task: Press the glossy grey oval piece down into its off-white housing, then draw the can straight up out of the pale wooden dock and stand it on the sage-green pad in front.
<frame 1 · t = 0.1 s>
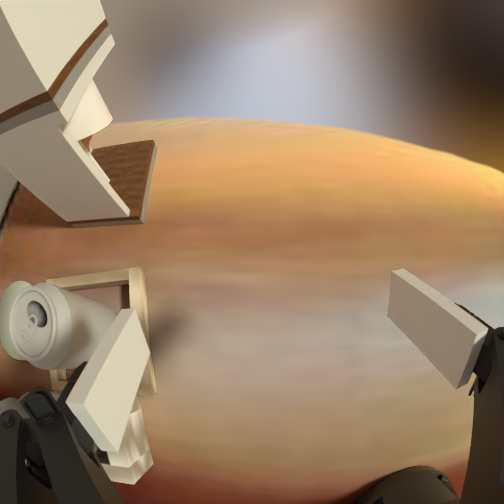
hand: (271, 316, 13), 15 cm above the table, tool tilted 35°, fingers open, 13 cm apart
tall seamed white tower: (115, 187, 34), on the table
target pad: (20, 320, 27), on the table
glossy grey oval piece: (81, 440, 18), point 7 cm above the table, slide at 0.0 cm
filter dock: (97, 334, 27), on the table
ceramic mug: (41, 423, 23), on the table
can: (98, 334, 27), resting in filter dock
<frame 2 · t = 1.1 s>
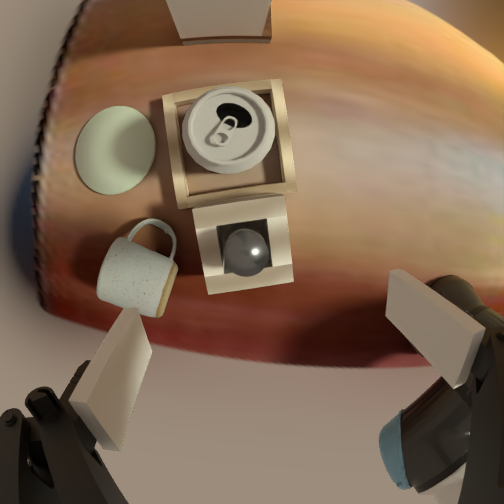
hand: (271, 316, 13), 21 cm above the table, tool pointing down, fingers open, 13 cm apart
tall seamed white tower: (227, 10, 25), on the table
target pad: (114, 150, 29), on the table
glossy grey oval piece: (245, 248, 27), point 6 cm above the table, slide at 0.0 cm
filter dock: (229, 142, 31), on the table
ceramic mug: (148, 258, 34), on the table
can: (229, 142, 31), resting in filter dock
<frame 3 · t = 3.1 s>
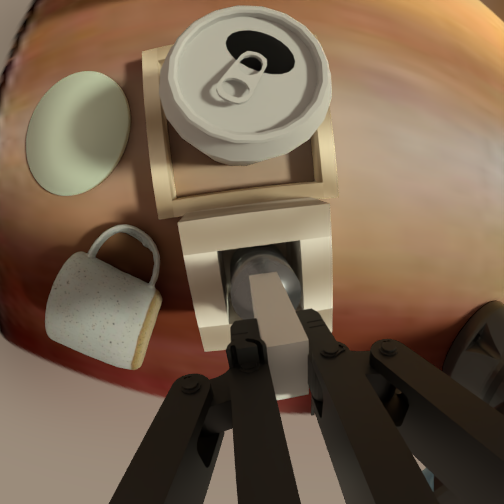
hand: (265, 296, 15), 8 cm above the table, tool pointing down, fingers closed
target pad: (74, 132, 19), on the table
glossy grey oval piece: (261, 279, 18), point 5 cm above the table, slide at 1.4 cm, touching gripper
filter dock: (238, 119, 20), on the table
ceramic mug: (121, 279, 23), on the table
can: (238, 120, 20), resting in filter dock
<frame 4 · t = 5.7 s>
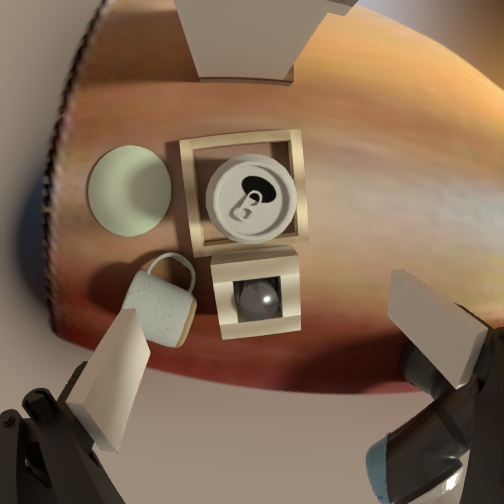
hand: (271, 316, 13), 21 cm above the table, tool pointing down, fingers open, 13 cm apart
tall seamed white tower: (247, 44, 27), on the table
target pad: (129, 190, 31), on the table
glossy grey oval piece: (257, 294, 31), point 4 cm above the table, slide at 2.1 cm
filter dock: (245, 191, 32), on the table
ceramic mug: (165, 288, 35), on the table
can: (245, 191, 33), resting in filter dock
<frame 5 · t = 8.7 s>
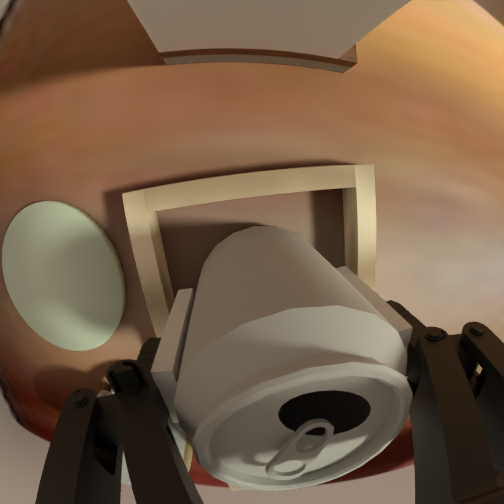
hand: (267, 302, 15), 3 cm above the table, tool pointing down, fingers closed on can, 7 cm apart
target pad: (58, 279, 16), on the table
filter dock: (261, 283, 17), on the table
ceramic mug: (143, 403, 20), on the table
can: (260, 281, 17), resting in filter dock, touching gripper
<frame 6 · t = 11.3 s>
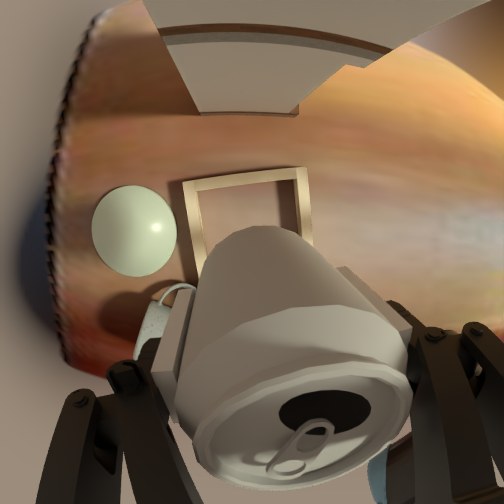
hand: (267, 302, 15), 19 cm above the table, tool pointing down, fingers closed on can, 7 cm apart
tall seamed white tower: (248, 71, 27), on the table
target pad: (133, 231, 31), on the table
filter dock: (251, 230, 33), on the table
ceramic mug: (176, 315, 35), on the table
can: (260, 281, 17), point 16 cm above the table, touching gripper
when the fingers open (5 cm above the table, at t = 13.8 s): can drops 1 cm, resting on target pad.
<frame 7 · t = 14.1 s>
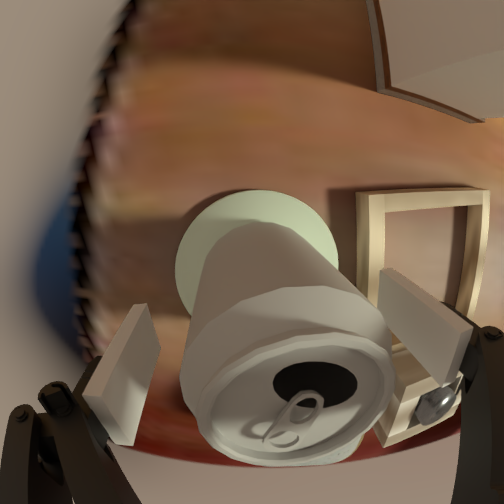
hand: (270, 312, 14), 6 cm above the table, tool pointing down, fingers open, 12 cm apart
tall seamed white tower: (422, 49, 15), on the table
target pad: (257, 271, 19), on the table
glossy grey oval piece: (426, 393, 19), point 4 cm above the table, slide at 2.1 cm
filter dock: (423, 268, 20), on the table
ceramic mug: (302, 384, 23), on the table
can: (259, 274, 19), point 1 cm above the table, touching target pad
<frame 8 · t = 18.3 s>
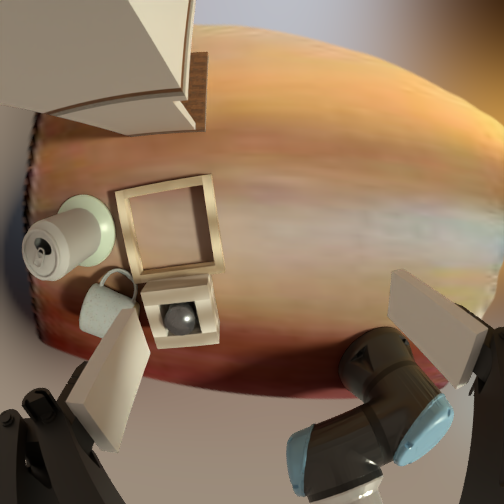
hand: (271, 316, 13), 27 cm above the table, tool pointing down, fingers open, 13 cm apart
tall seamed white tower: (168, 95, 33), on the table
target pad: (84, 230, 37), on the table
glossy grey oval piece: (181, 313, 37), point 4 cm above the table, slide at 2.1 cm
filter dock: (171, 229, 38), on the table
ceramic mug: (118, 296, 41), on the table
can: (83, 231, 36), point 1 cm above the table, touching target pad
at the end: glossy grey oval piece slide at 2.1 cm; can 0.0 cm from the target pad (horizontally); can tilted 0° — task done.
